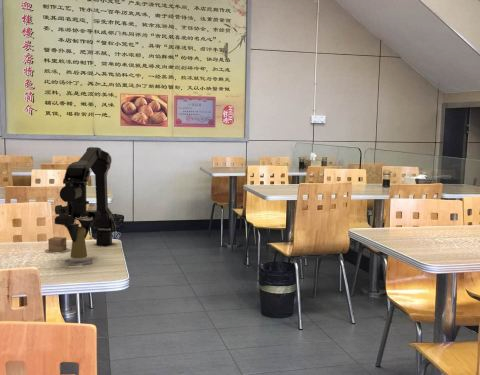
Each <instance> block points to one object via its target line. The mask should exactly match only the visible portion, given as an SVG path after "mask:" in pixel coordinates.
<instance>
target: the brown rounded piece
mask: <svg viewBox="0 0 480 375" xmlns="http://www.w3.org/2000/svg"><path fill="white" fill-rule="evenodd" d="M85 234H86V229H85V228H84V227H81V226H79V227H78V232H77V237H76V241H75V242H73V241H72V240H71V248H70V249H71V251H70V259H73V258H88V252H87V245H86V238H85Z"/></svg>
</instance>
